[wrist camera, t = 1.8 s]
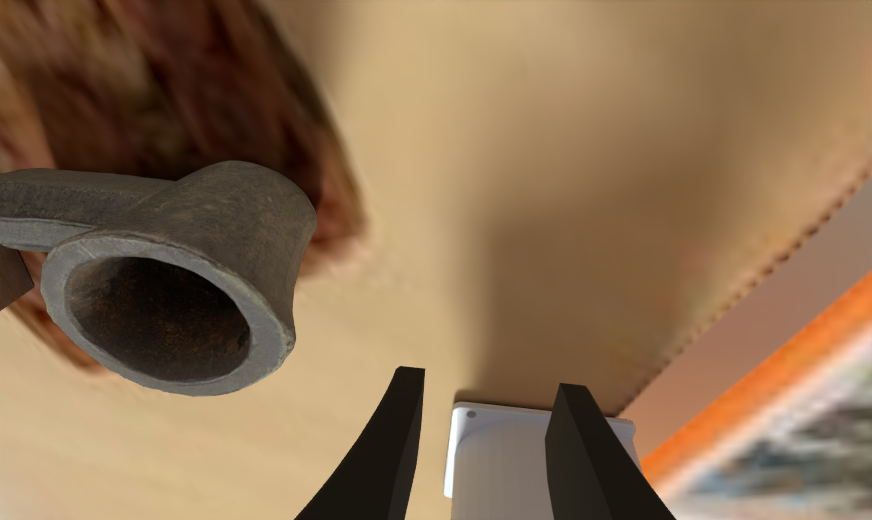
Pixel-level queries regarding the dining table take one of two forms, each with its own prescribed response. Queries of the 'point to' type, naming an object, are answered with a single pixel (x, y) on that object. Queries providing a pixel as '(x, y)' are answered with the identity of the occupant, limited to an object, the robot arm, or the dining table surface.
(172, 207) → the pipe
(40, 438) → the dining table surface
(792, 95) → the dining table surface
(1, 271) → the valve
